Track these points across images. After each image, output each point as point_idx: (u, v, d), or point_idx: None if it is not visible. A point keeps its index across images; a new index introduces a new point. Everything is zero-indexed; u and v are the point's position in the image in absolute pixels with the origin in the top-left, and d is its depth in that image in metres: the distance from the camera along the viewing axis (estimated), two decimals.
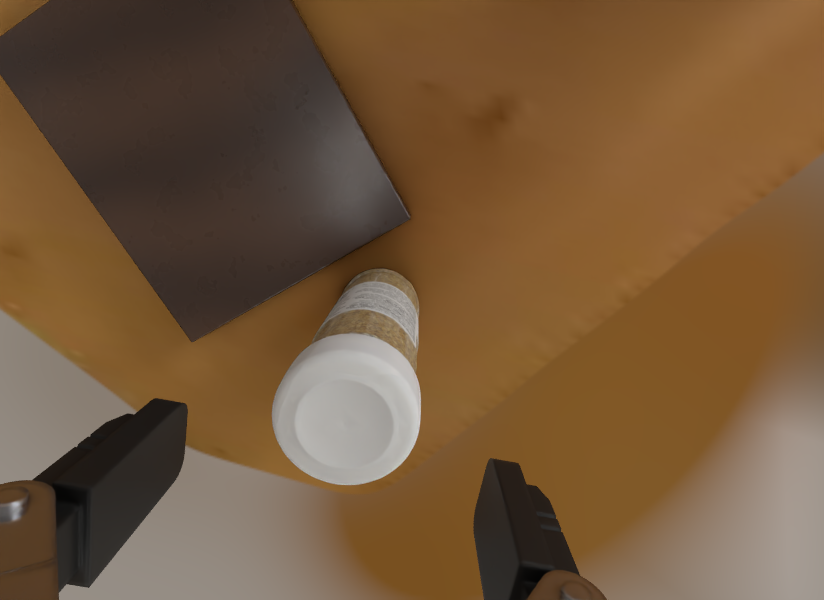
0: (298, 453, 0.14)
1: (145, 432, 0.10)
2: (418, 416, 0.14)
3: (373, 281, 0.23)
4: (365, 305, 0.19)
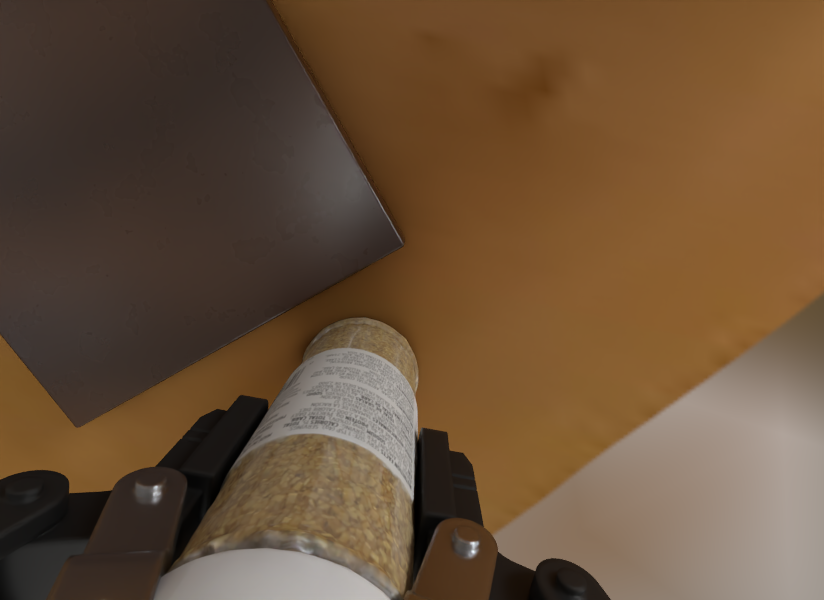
0: None
1: (242, 425, 0.11)
2: None
3: (345, 348, 0.14)
4: (319, 420, 0.10)
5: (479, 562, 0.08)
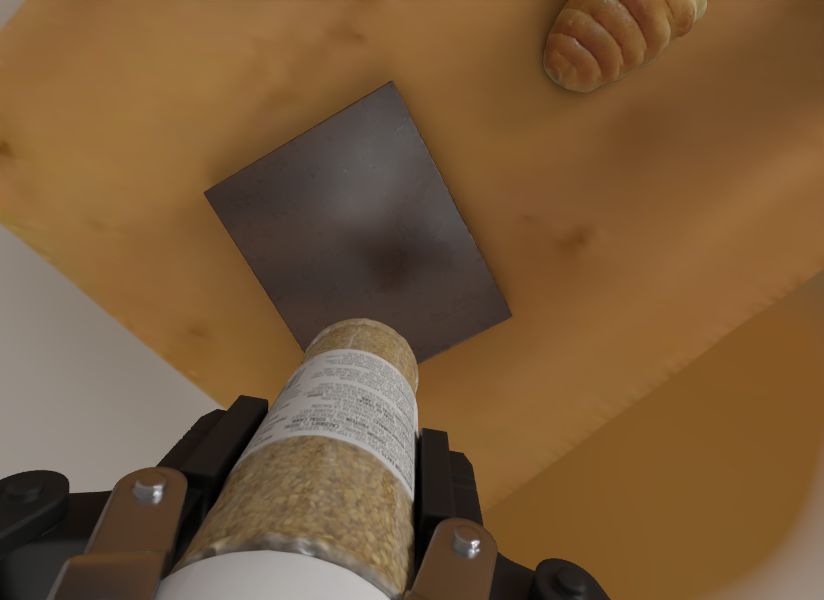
0: None
1: (243, 425, 0.11)
2: None
3: (345, 349, 0.14)
4: (319, 422, 0.10)
5: (479, 562, 0.08)
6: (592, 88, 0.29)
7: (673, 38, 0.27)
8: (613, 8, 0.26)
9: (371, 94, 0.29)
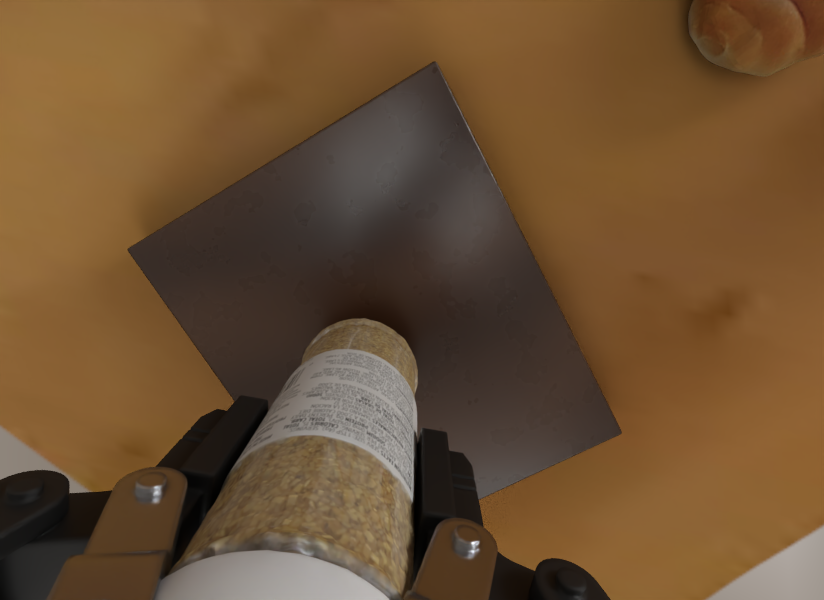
0: None
1: (243, 425, 0.11)
2: None
3: (345, 349, 0.14)
4: (319, 422, 0.10)
5: (479, 562, 0.08)
6: (778, 69, 0.17)
7: None
8: None
9: (400, 85, 0.17)
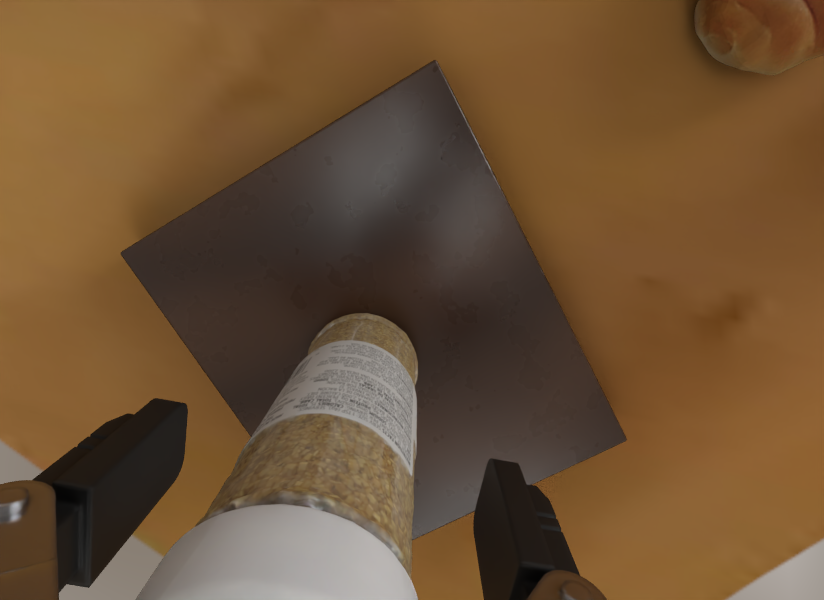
0: None
1: (145, 432, 0.10)
2: None
3: (349, 340, 0.15)
4: (326, 402, 0.11)
5: None
6: (787, 67, 0.16)
7: None
8: None
9: (400, 84, 0.17)
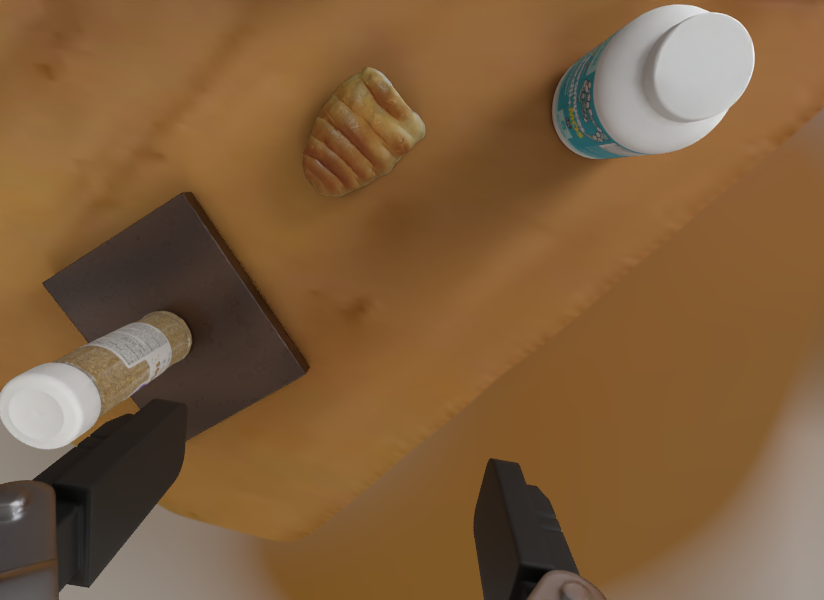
0: (14, 431, 0.26)
1: (145, 432, 0.10)
2: (80, 409, 0.25)
3: (137, 322, 0.34)
4: (98, 342, 0.30)
5: None
6: (343, 194, 0.35)
7: (398, 155, 0.34)
8: (338, 139, 0.33)
9: (167, 203, 0.36)
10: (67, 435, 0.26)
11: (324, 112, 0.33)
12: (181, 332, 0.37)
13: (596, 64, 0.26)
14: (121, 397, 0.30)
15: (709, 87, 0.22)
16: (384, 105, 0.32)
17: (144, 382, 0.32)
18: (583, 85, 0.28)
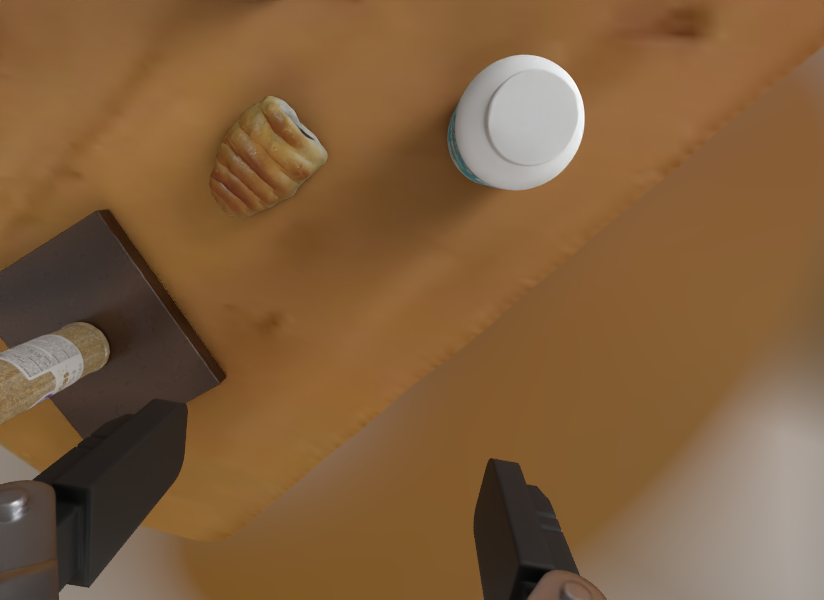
0: None
1: (145, 432, 0.10)
2: None
3: (49, 334, 0.36)
4: (1, 355, 0.32)
5: None
6: (249, 215, 0.37)
7: (299, 180, 0.36)
8: (238, 164, 0.34)
9: (82, 220, 0.38)
10: None
11: (227, 138, 0.35)
12: (97, 343, 0.39)
13: (457, 106, 0.28)
14: (21, 407, 0.31)
15: (539, 136, 0.24)
16: (280, 134, 0.34)
17: (50, 392, 0.34)
18: (453, 123, 0.30)
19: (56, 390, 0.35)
